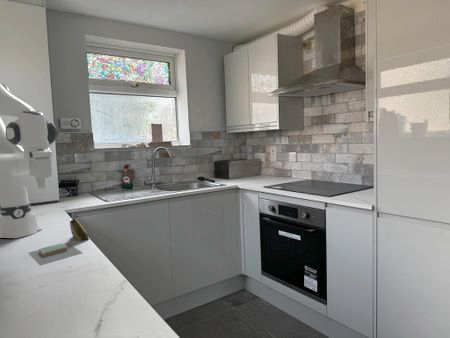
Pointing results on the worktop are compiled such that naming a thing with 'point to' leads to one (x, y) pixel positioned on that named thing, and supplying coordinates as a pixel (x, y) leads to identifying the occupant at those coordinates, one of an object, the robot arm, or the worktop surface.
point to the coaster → (52, 250)
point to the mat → (55, 255)
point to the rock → (78, 230)
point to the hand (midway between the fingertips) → (41, 188)
